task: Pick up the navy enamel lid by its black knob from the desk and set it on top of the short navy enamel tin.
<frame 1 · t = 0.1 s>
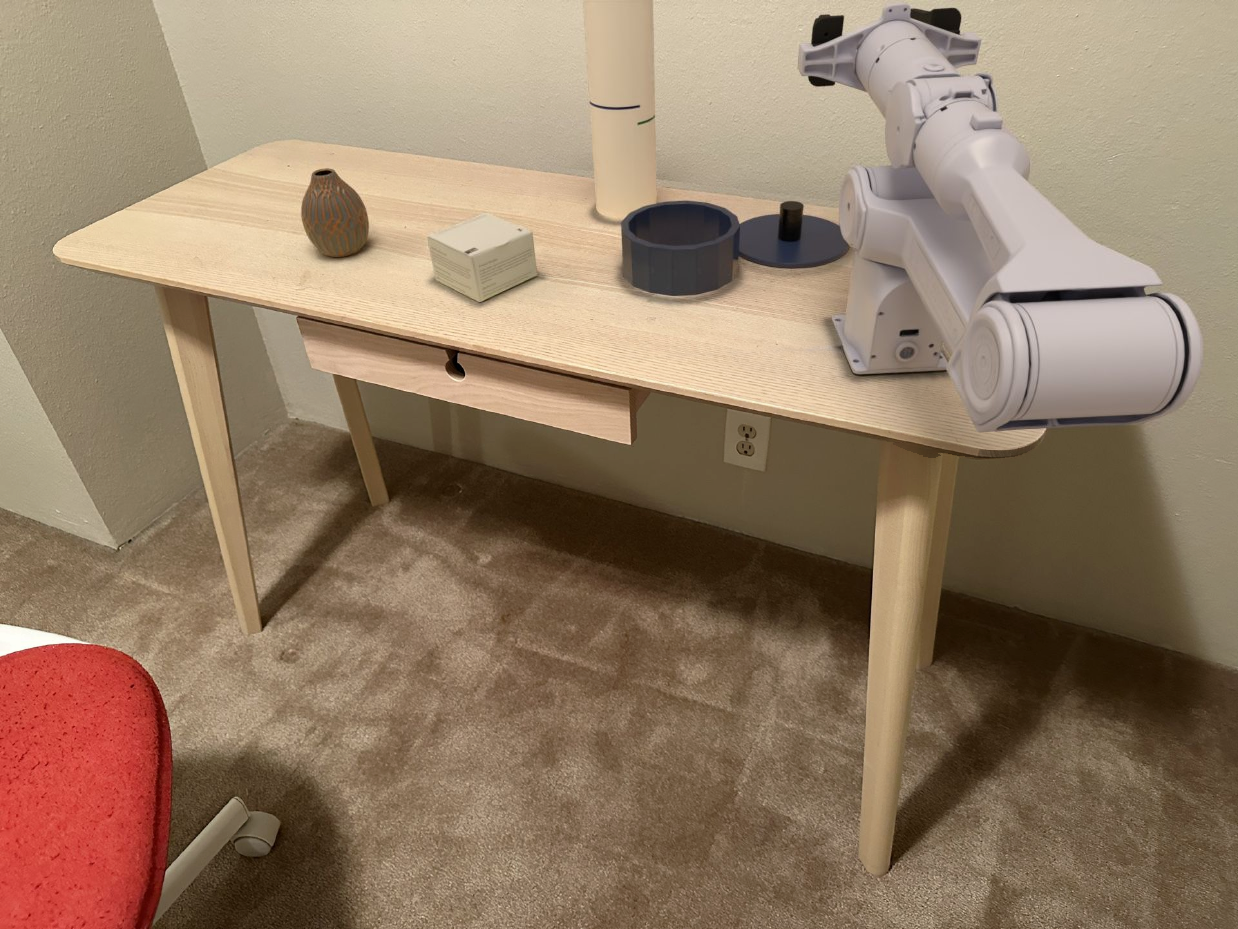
hand: (864, 23, 77), 22 cm above the table, tool horizontal, fingers open, 7 cm apart
vase: (343, 251, 96), on the table
tin lid: (788, 241, 91), point 1 cm above the table
cylindrical container: (626, 212, 101), on the table
small box: (486, 280, 89), on the table
tin: (679, 273, 88), on the table
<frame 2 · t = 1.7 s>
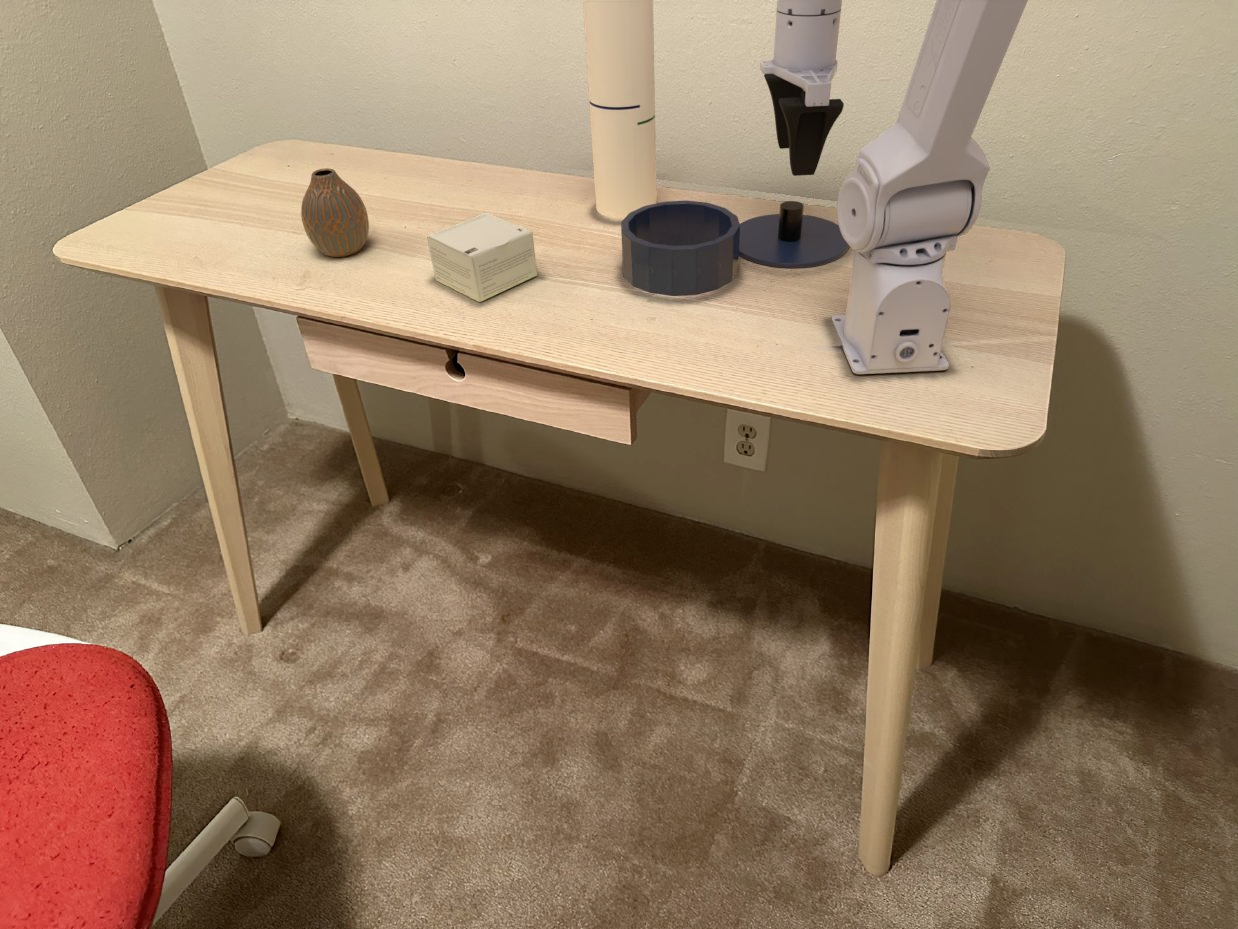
hand: (795, 160, 86), 9 cm above the table, tool pointing down, fingers open, 7 cm apart
nothing on the table moved.
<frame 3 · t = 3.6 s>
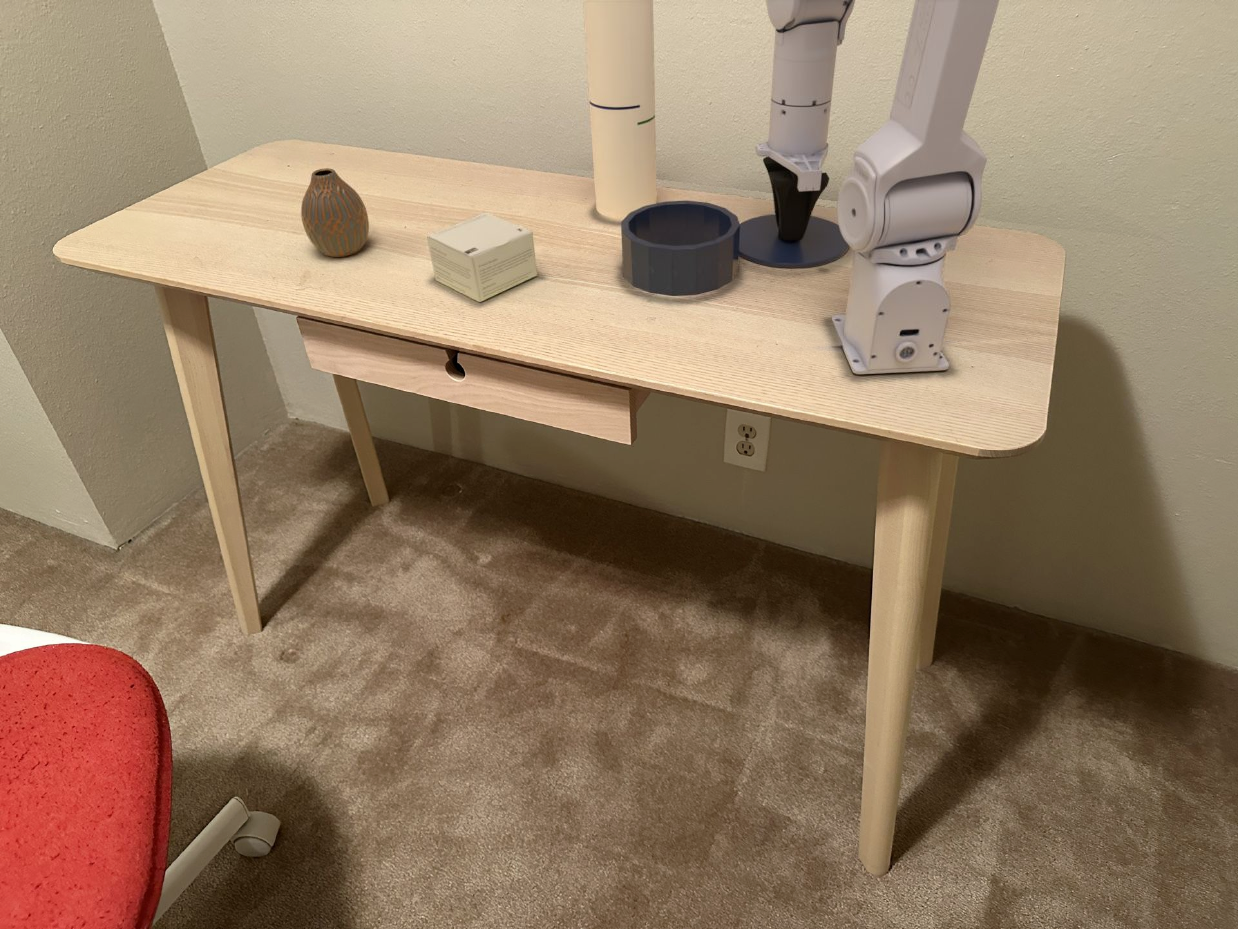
hand: (789, 232, 91), 2 cm above the table, tool pointing down, fingers closed on tin lid, 2 cm apart
tin lid: (788, 241, 91), point 1 cm above the table, touching gripper
everything else where it was.
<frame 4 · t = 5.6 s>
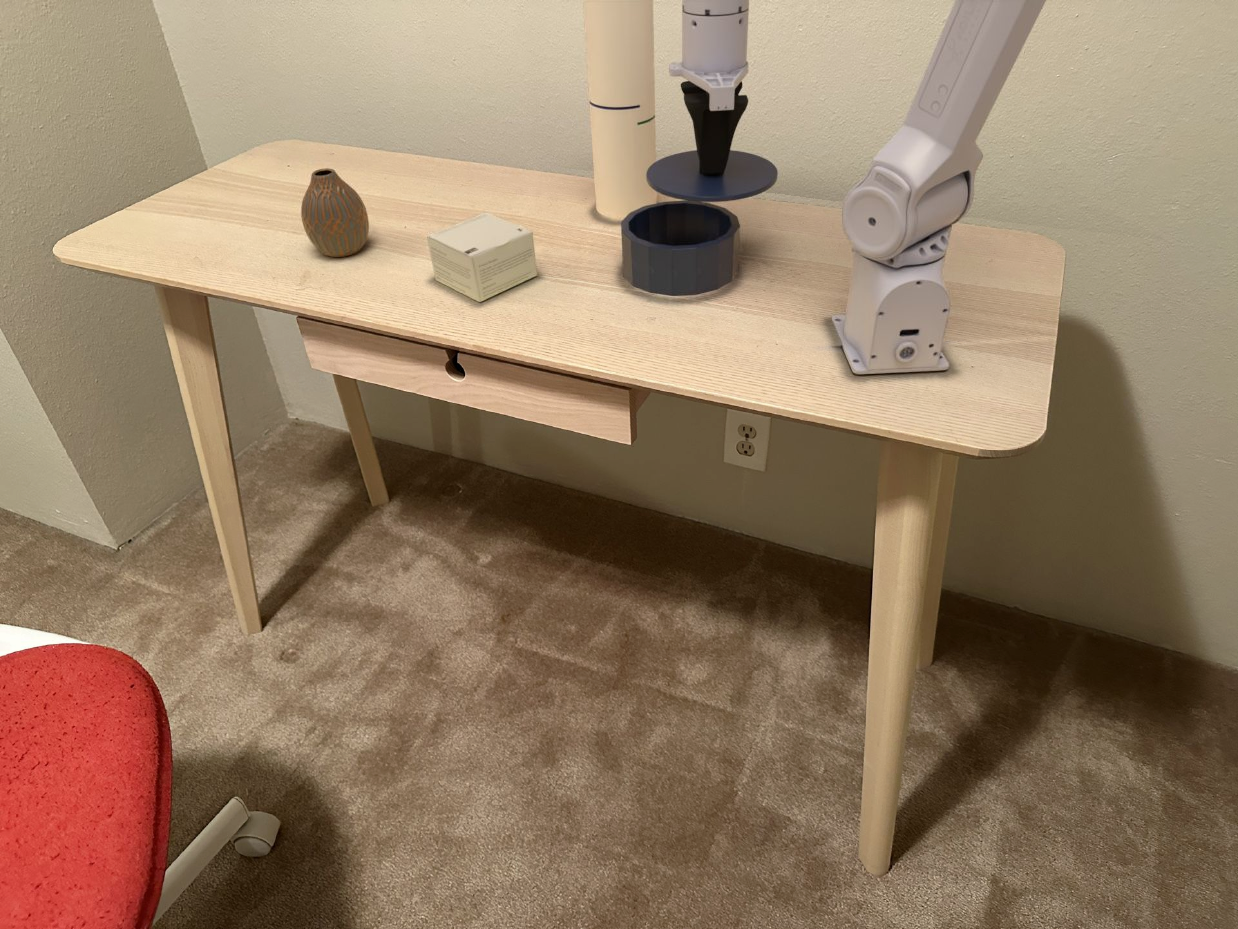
hand: (711, 166, 82), 10 cm above the table, tool pointing down, fingers closed on tin lid, 2 cm apart
tin lid: (711, 176, 83), point 9 cm above the table, touching gripper
everything else where it was.
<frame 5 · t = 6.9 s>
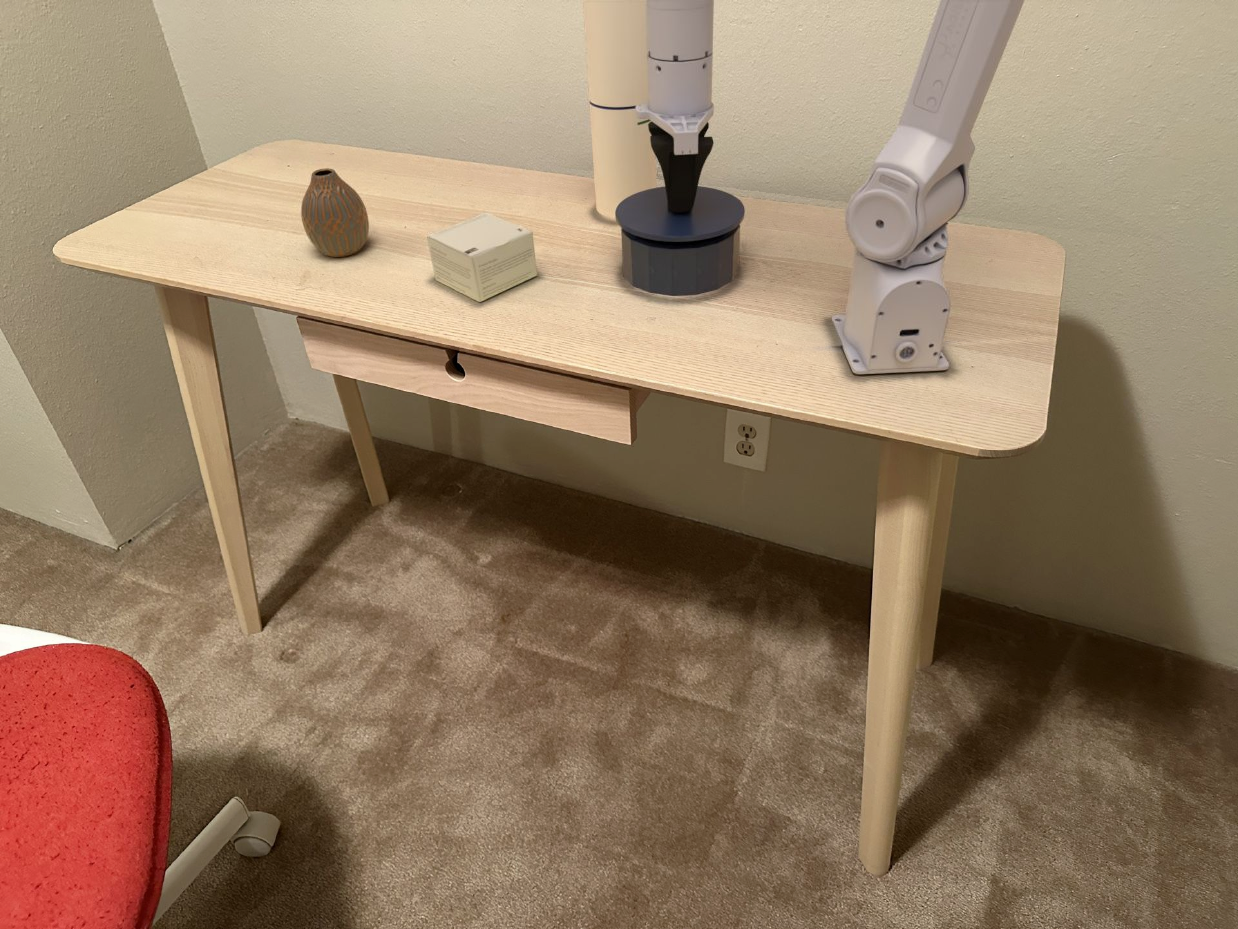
hand: (679, 204, 83), 7 cm above the table, tool pointing down, fingers closed on tin lid, 2 cm apart
tin lid: (679, 214, 84), point 6 cm above the table, touching gripper
everything else where it was.
when the fingers open (6 cm above the table, at t = 7.4 s): tin lid stays where it is, resting on tin.
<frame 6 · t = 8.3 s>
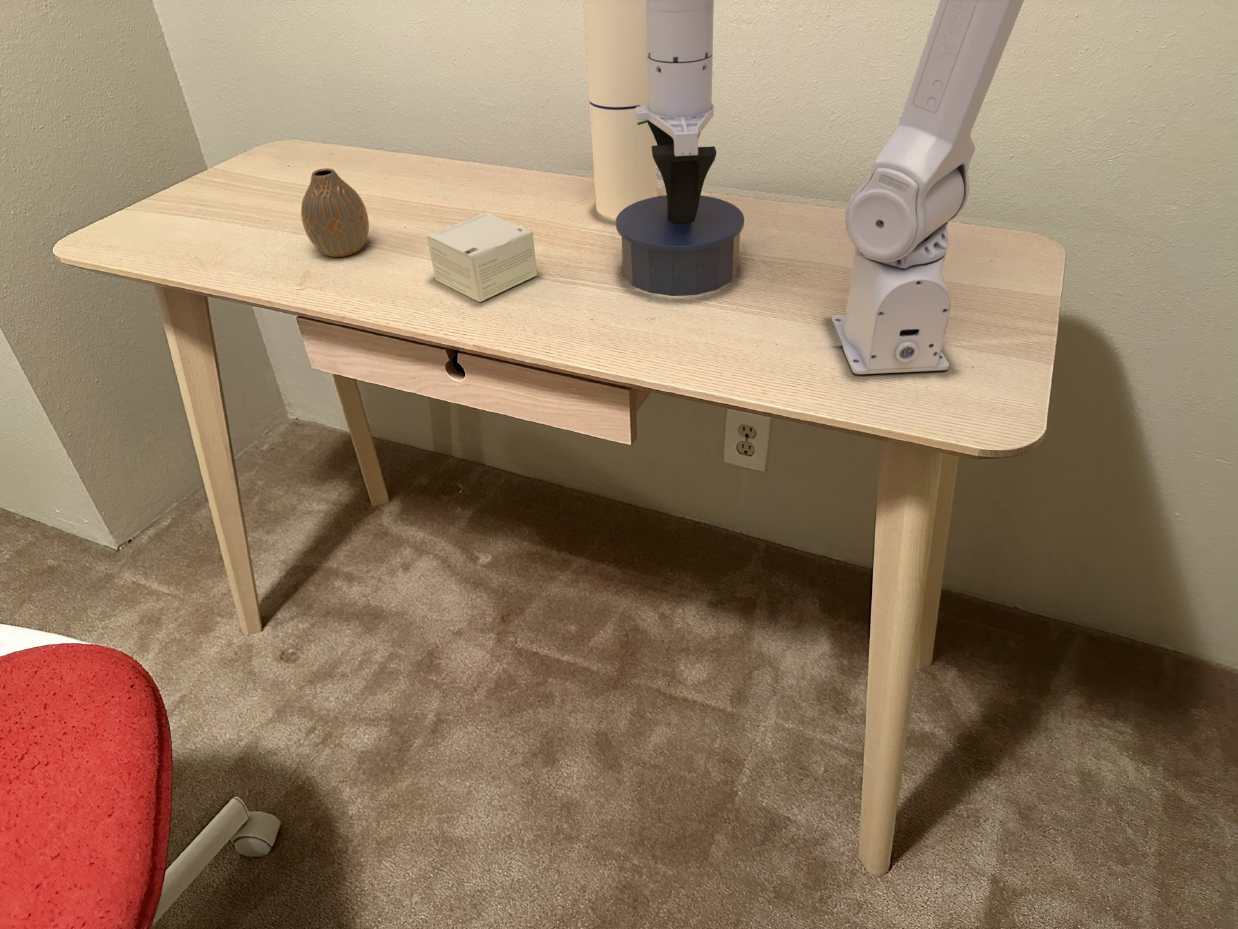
hand: (679, 205, 83), 7 cm above the table, tool pointing down, fingers open, 7 cm apart
tin lid: (679, 223, 84), point 5 cm above the table, touching tin
everything else where it was.
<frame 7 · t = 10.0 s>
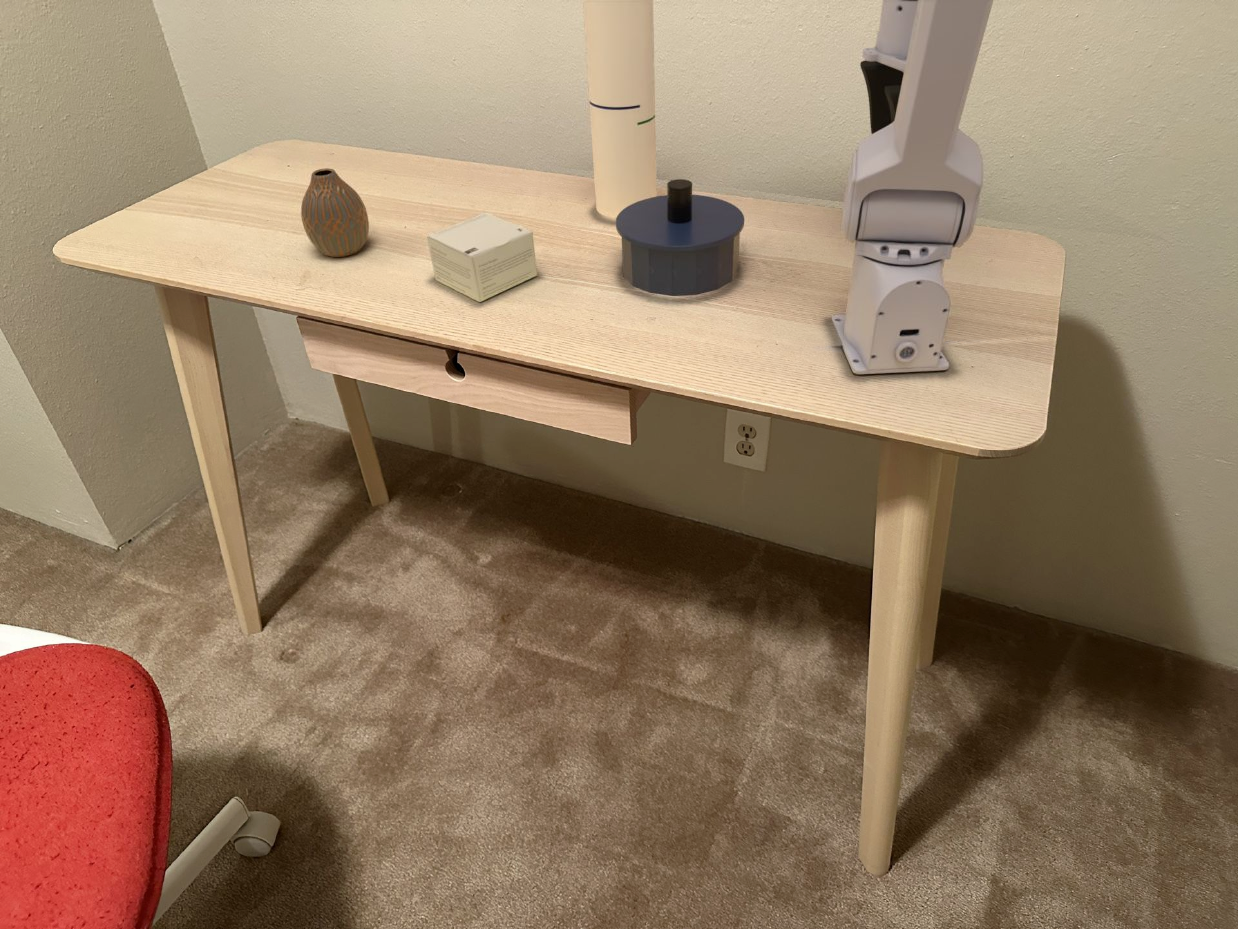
hand: (892, 151, 83), 10 cm above the table, tool pointing down, fingers open, 7 cm apart
nothing on the table moved.
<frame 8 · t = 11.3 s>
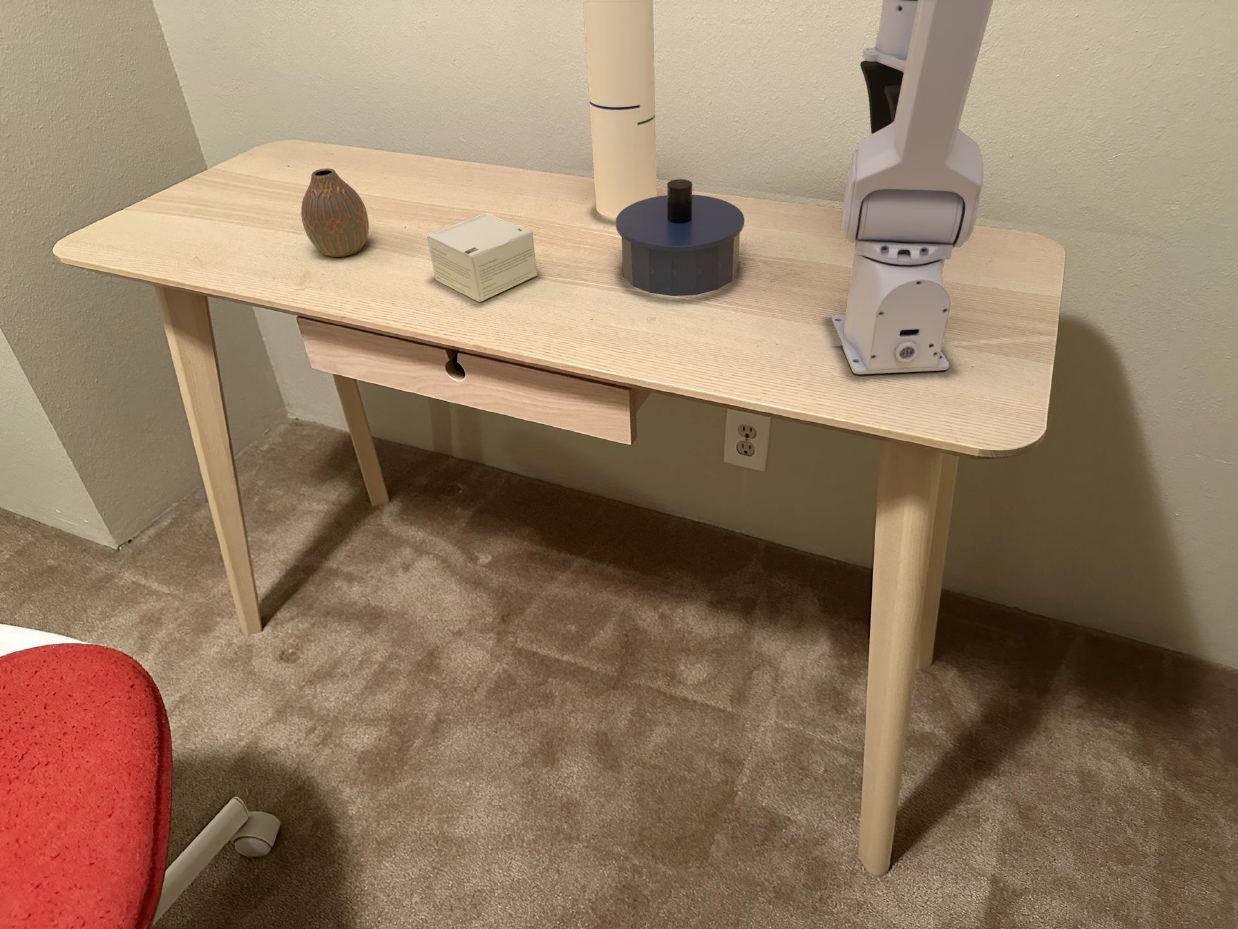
hand: (893, 151, 83), 10 cm above the table, tool pointing down, fingers open, 7 cm apart
nothing on the table moved.
at the end: tin lid 0.0 cm off-centre on the tin, point 5.4 cm above the tin's base; tin lid tilted 0°; the gripper is holding nothing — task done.
